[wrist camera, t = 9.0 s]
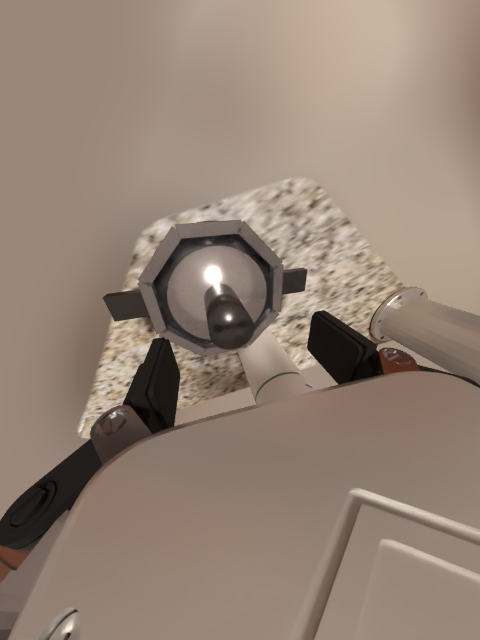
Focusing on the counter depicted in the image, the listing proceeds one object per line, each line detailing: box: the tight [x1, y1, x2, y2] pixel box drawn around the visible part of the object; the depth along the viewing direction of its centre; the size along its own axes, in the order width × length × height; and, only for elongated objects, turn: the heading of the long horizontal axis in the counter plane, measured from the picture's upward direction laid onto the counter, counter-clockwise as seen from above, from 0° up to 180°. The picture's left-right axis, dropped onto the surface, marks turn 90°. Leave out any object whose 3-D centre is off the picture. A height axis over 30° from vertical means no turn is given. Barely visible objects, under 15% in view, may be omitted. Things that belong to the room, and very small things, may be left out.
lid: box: [167, 245, 267, 350], centre depth 15 cm, size 10×10×7 cm
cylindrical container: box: [237, 329, 314, 404], centre depth 21 cm, size 7×7×25 cm
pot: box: [103, 220, 307, 356], centre depth 20 cm, size 21×14×8 cm, turn 93°
